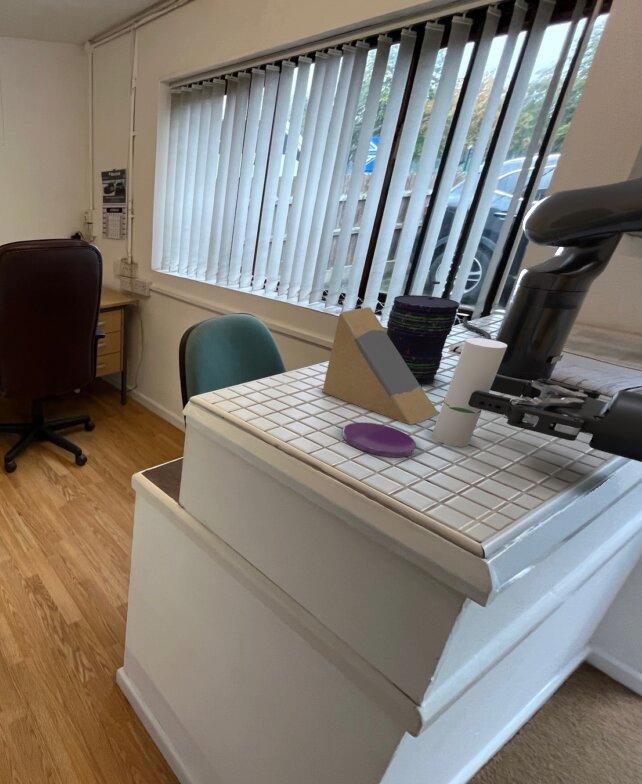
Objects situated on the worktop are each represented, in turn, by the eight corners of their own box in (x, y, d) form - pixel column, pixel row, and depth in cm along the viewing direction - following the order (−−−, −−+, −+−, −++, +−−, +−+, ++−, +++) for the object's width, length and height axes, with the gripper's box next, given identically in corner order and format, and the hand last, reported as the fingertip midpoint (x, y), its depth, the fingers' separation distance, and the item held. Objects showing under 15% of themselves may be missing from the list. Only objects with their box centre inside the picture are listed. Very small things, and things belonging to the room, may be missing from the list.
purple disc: (344, 421, 74) (345, 417, 73) (413, 435, 69) (414, 431, 69) (340, 446, 67) (341, 441, 67) (416, 464, 62) (418, 459, 62)
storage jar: (425, 390, 84) (457, 292, 77) (365, 375, 91) (390, 284, 84) (441, 376, 90) (473, 283, 82) (384, 363, 97) (408, 277, 89)
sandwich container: (411, 426, 72) (441, 334, 66) (320, 392, 84) (339, 312, 78) (441, 413, 75) (472, 325, 69) (350, 382, 88) (369, 305, 82)
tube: (424, 433, 70) (457, 338, 64) (450, 431, 70) (485, 337, 64) (448, 447, 66) (486, 348, 60) (476, 445, 66) (516, 346, 60)
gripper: (684, 386, 54) (503, 352, 66) (677, 422, 46) (474, 377, 58) (652, 441, 57) (485, 399, 69) (640, 484, 49) (454, 428, 61)
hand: (480, 389), depth 64 cm, fingers open, 8 cm apart
